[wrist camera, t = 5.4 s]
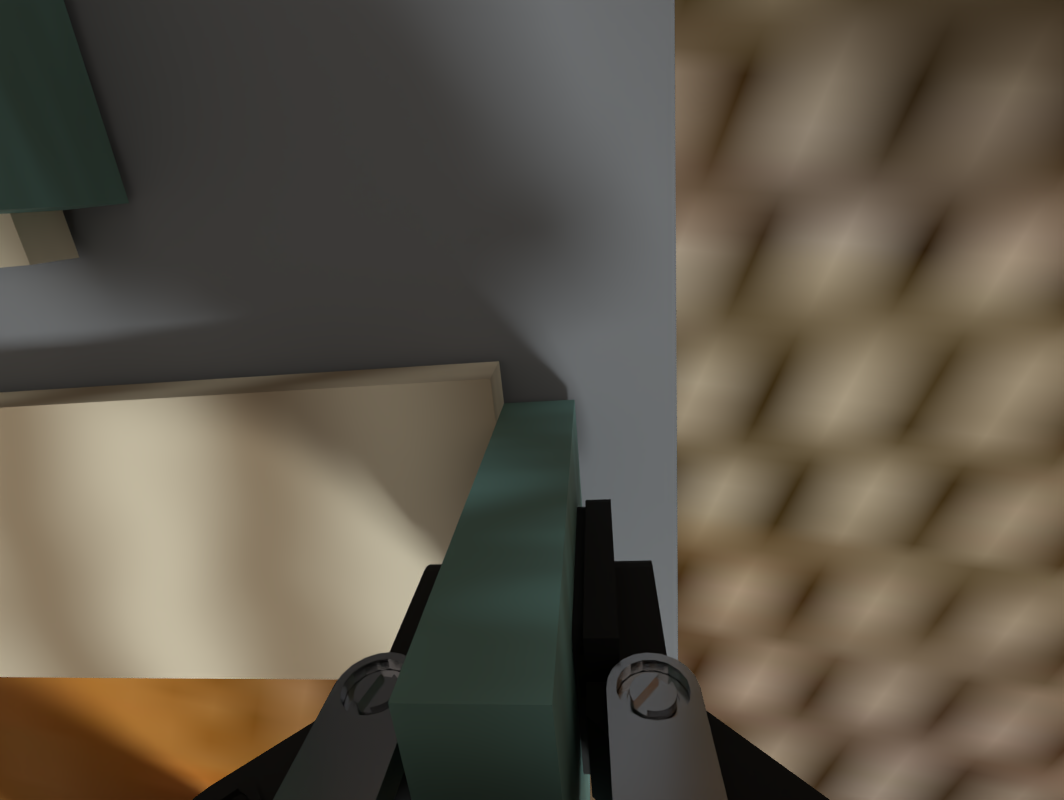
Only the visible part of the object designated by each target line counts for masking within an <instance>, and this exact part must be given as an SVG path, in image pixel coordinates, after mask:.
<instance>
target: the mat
mask: <svg viewBox="0 0 1064 800" xmlns="http://www.w3.org/2000/svg"><path fill="white" fill-rule="evenodd" d="M64 3H65V6H66V9H67V12H68V15H69V18H70V21H71V24H72V28H73V31H74V34H75V37H76V40H77V43H78V46H79V49H80V52H81V55H82V59H83V62H84V65H85V68H86V71H87V74H88V77H89V80H90V83H91V86H92V89H93V93H94V96H95V99H96V102H97V105H98V108H99V111H100V114H101V117H102V120H103V123H104V127H105V130H106V133H107V136H108V139H109V142H110V145H111V148H112V151H113V154H114V158H115V161H116V164H117V167H118V170H119V173H120V176H121V179H122V182H123V185H124V188H125V192H126V195H127V198H128V201H129V203H127V204H117V205H108V206H98V207H89V208H79V209H70V210H62V211H63V214H64V216H65V219H66V222H67V225H68V227H69V230H70V233H71V236H72V238H73V241H74V244H75V247H76V249H77V252H78V255H79V258H73V259H66V260H60V261H53V262H46V263H40V264H33V265H24V266H14V267H3V268H0V392H16V391H32V390H48V389H64V388H80V387H96V386H112V385H128V384H144V383H160V382H175V381H191V380H207V379H223V378H239V377H255V376H271V375H287V374H303V373H319V372H335V371H351V370H367V369H383V368H399V367H415V366H431V365H447V364H463V363H479V362H495V361H499V365H500V373H501V382H502V390H503V398H504V403H519V402H538V401H557V400H575V413H576V426H577V440H578V454H579V468H580V482H581V496H582V507H585V501H586V500H598V499H611V512H612V529H613V546H614V561H645V560H651V561H652V565H653V571H654V577H655V584H656V590H657V596H658V602H659V609H660V615H661V621H662V628H663V634H664V640H665V647H666V653H667V656H669V657H672V658H675V659H676V660H678V591H677V398H676V204H675V10H674V0H64Z"/></svg>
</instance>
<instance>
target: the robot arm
mask: <svg viewBox="0 0 1064 800" xmlns="http://www.w3.org/2000/svg"><path fill="white" fill-rule="evenodd" d="M441 565H442V564H430V565H428V566H427V567H426V568H425V570H424V572H423V575H422V577H421V579H420V582H419V584H418V586H417V589H416V591H415V593H414V596H413V598H412V600H411V603H410V605H409V607H408V610H407V612H406V614H405V617H404V619H403V621H402V624H401V626H400V629H399V631H398V633H397V636H396V638H395V640H394V643H393V645H392V647H391V650H390V652H387V653H378V654H375V655H372V656H369V657H366V658H364V659H362V660H360V661H358V662H357V663H355V664H353V665H352V666H351V667H350V668H348V669H347V670H346V671H345V672H344V673H343V674H342V675H341V676H340V678H339V679H338V681H337V682H336V683H335V685H334V687H333V688H332V690H331V692H330V694H329V696H328V698H327V700H326V702H325V703H324V705H323V707H322V709H321V711H320V713H319V715H318V717H317V718H316V720H315V721H314V722H313V723H311V724H310V725H308V726H306V727H305V728H303V729H302V730H300V731H298V732H297V733H295V734H293V735H292V736H290V737H289V738H287V739H285V740H284V741H282V742H281V743H279V744H277V745H276V746H274V747H273V748H271V749H269V750H268V751H266V752H264V753H263V754H261V755H260V756H258V757H256V758H255V759H253V760H252V761H250V762H248V763H247V764H245V765H244V766H242V767H240V768H239V769H237V770H235V771H234V772H232V773H231V774H229V775H227V776H226V777H224V778H223V779H221V780H219V781H218V782H216V783H215V784H213V785H211V786H210V787H208V788H207V789H206V790H204V791H203V792H202V793H200V794H199V795H198V796H196V797H195V798H194V799H193V800H411V796H410V792H409V788H408V783H407V779H406V775H405V771H404V767H403V763H402V759H401V755H400V751H399V746H398V742H397V738H396V734H395V730H394V726H393V722H392V718H391V714H390V709H389V705H388V702H389V699H390V697H391V694H392V692H393V689H394V686H395V684H396V681H397V679H398V676H399V673H400V671H401V668H402V666H403V663H404V661H405V658H406V655H407V653H408V650H409V648H410V645H411V642H412V640H413V637H414V635H415V632H416V630H417V627H418V624H419V622H420V619H421V617H422V614H423V611H424V609H425V606H426V604H427V601H428V599H429V596H430V593H431V591H432V588H433V586H434V583H435V580H436V578H437V575H438V573H439V570H440V568H441ZM572 648H573V661H574V673H575V684H576V695H577V707H578V718H579V729H580V741H581V752H582V763H583V773H584V774H591V783H592V795H593V797H594V798H595V800H829V799H828V798H826V797H825V796H824V795H822V794H821V793H820V792H818V791H817V790H815V789H814V788H813V787H811V786H810V785H808V784H807V783H806V782H804V781H803V780H802V779H800V778H799V777H797V776H796V775H795V774H793V773H792V772H790V771H789V770H788V769H786V768H785V767H784V766H782V765H781V764H779V763H778V762H777V761H775V760H774V759H772V758H771V757H770V756H768V755H767V754H766V753H764V752H763V751H761V750H760V749H759V748H757V747H756V746H754V745H753V744H752V743H750V742H749V741H748V740H746V739H745V738H743V737H742V736H741V735H739V734H738V733H737V732H735V731H734V730H732V729H731V728H730V727H728V726H727V725H725V724H724V723H723V722H721V721H720V720H719V719H717V718H716V717H714V716H713V715H712V714H710V713H709V712H707V711H706V708H705V704H704V700H703V696H702V692H701V688H700V686H699V683H698V681H697V679H696V676H695V675H694V674H693V673H692V672H691V671H690V670H689V668H688V667H687V666H685V665H684V664H682V663H681V662H679V661H678V660H676V659H675V658H672V657H669V656H667V653H666V647H665V640H664V634H663V628H662V621H661V615H660V609H659V602H658V596H657V590H656V584H655V577H654V571H653V565H652V561H651V560H645V561H614V546H613V529H612V512H611V499H598V500H586V501H585V507H577V519H576V543H575V567H574V591H573V615H572Z"/></svg>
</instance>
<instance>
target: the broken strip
mask: <svg viewBox="0 0 1064 800" xmlns="http://www.w3.org/2000/svg"><path fill="white" fill-rule="evenodd" d="M127 203H129V201H128V198H127V195H126V192H125V188H124V185H123V182H122V179H121V176H120V173H119V170H118V167H117V164H116V161H115V158H114V154H113V151H112V148H111V145H110V142H109V139H108V136H107V133H106V130H105V127H104V123H103V120H102V117H101V114H100V111H99V108H98V105H97V102H96V99H95V96H94V93H93V89H92V86H91V83H90V80H89V77H88V74H87V71H86V68H85V65H84V62H83V59H82V55H81V52H80V49H79V46H78V43H77V40H76V37H75V34H74V31H73V28H72V24H71V21H70V18H69V15H68V12H67V9H66V6H65V3H64V0H0V268H3V267H14V266H24V265H33V264H40V263H46V262H53V261H60V260H66V259H73V258H79V255H78V252H77V249H76V247H75V244H74V241H73V238H72V236H71V233H70V230H69V227H68V225H67V222H66V219H65V216H64V214H63V211H62V210H70V209H79V208H89V207H98V206H108V205H117V204H127Z"/></svg>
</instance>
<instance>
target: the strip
mask: <svg viewBox="0 0 1064 800" xmlns="http://www.w3.org/2000/svg"><path fill="white" fill-rule="evenodd" d="M577 507H582V496H581V482H580V468H579V454H578V440H577V426H576V413H575V400H557V401H538V402H519V403H504V398H503V390H502V382H501V373H500V365H499V361H495V362H479V363H463V364H447V365H431V366H415V367H399V368H383V369H367V370H351V371H335V372H319V373H303V374H287V375H271V376H255V377H239V378H223V379H207V380H191V381H175V382H160V383H144V384H128V385H112V386H96V387H80V388H64V389H48V390H32V391H16V392H0V677H70V678H215V679H339V678H340V676H341V675H342V674H343V673H344V672H345V671H346V670H347V669H348V668H350V667H351V666H352V665H353V664H355V663H357V662H358V661H360V660H362V659H364V658H366V657H369V656H372V655H375V654H378V653H387V652H390V650H391V647H392V645H393V643H394V640H395V638H396V636H397V633H398V631H399V629H400V626H401V624H402V621H403V619H404V617H405V614H406V612H407V610H408V607H409V605H410V603H411V600H412V598H413V596H414V593H415V591H416V589H417V586H418V584H419V582H420V579H421V577H422V575H423V572H424V570H425V568H426V567H427V566H428V565H430V564H442V565H441V568H440V570H439V573H438V575H437V578H436V580H435V583H434V586H433V588H432V591H431V593H430V596H429V599H428V601H427V604H426V606H425V609H424V611H423V614H422V617H421V619H420V622H419V624H418V627H417V630H416V632H415V635H414V637H413V640H412V642H411V645H410V648H409V650H408V653H407V655H406V658H405V661H404V663H403V666H402V668H401V671H400V673H399V676H398V679H397V681H396V684H395V686H394V689H393V692H392V694H391V697H390V699H389V702H388V705H389V709H390V714H391V718H392V722H393V726H394V730H395V734H396V738H397V742H398V746H399V751H400V755H401V759H402V763H403V767H404V771H405V775H406V779H407V783H408V788H409V792H410V796H411V800H590V774H584V773H583V763H582V752H581V741H580V729H579V718H578V707H577V695H576V684H575V673H574V661H573V648H572V615H573V591H574V567H575V543H576V519H577Z"/></svg>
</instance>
